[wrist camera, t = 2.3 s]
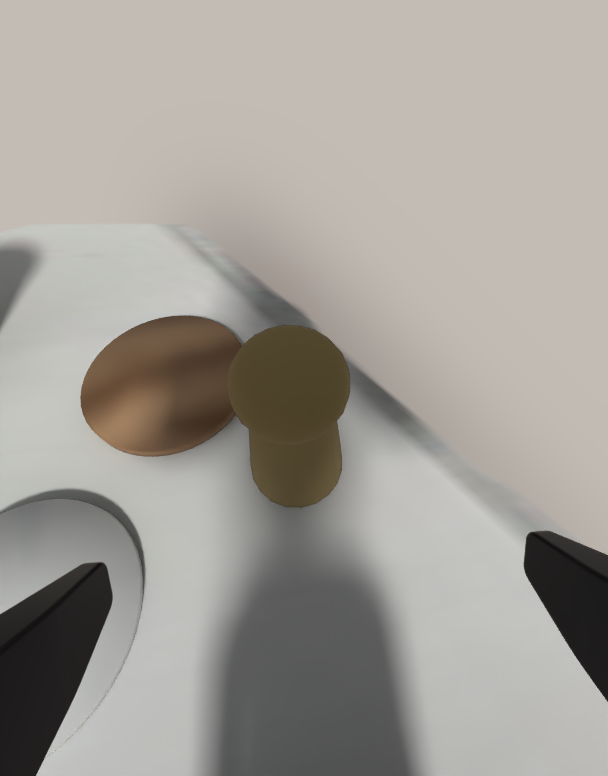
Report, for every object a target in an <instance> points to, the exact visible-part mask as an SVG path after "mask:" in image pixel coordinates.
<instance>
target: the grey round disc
mask: <svg viewBox="0 0 608 776" xmlns="http://www.w3.org/2000/svg"><path fill="white" fill-rule="evenodd" d="M91 562H103V563H105V564H106V566H107V569H108V573H109V578H110V583H111V588H112V593H113V601H112V606H111V609H110V612H109V614H108V617H107V619H106V622H105V624H104V627H103V629H102V632H101V634H100V637H99V639H98V642H97V644H96V647H95V649H94V652H93V654H92V657H91V659H90V662H89V664H88V667H87V669H86V672H85V674H84V677H83V679H82V681H81V684H80V686H79V688H78V691H77V693H76V695H75V697H74V699H73V702H72V704H71V706H70V708H69V710H68V712H67V714H66V716H65V718H64V720H63V722H62V724H61V726H60V728H59V730H58V732H57V734H56V736H55V738H54V740H53V742H52V744H51V746H50V748H49V750H48V752H47V754H46V756H45V758H46V757H48V756H49V755H50V754H51V753H53V752H54V751H55V750H56V749H58V748H59V747H60V746H61V745H62V744H64V743H65V742H66V741H67V740H68V739H69V738H70V737H71V736H72V735H73V734H74V733H75V732H76V731H77V730H78V729H79V728H80V727H81V726H82V725H83V724H84V723H85V722H86V721H87V719H88V718H89V717H90V716H91V715H92V713H93V712H94V711H95V710H96V709H97V707H98V706H99V705H100V703H101V702H102V700H103V699H104V697H105V696H106V694H107V693H108V692H109V690H110V689H111V687H112V685H113V683H114V682H115V680H116V678H117V676H118V675H119V673H120V671H121V669H122V667H123V665H124V663H125V660H126V658H127V656H128V654H129V651H130V649H131V646H132V643H133V640H134V637H135V634H136V631H137V627H138V623H139V619H140V615H141V608H142V600H143V573H142V564H141V560H140V557H139V553H138V550H137V547H136V545H135V543H134V540H133V538H132V537H131V535H130V534H129V532H128V530H127V529H126V528H125V527H124V526H123V525H122V523H121V522H120V521H119V520H118V519H116V518H115V517H114V516H112V515H111V514H110V513H108V512H106V511H104V510H102V509H100V508H98V507H96V506H94V505H92V504H89V503H86V502H83V501H78V500H72V499H49V500H41V501H37V502H32V503H28V504H25V505H22V506H19V507H16V508H13V509H11V510H8V511H6V512H4V513H2V514H0V614H1V613H3V612H5V611H6V610H8V609H9V608H11V607H13V606H14V605H16V604H18V603H19V602H21V601H22V600H24V599H26V598H27V597H29V596H31V595H32V594H34V593H35V592H37V591H39V590H40V589H42V588H44V587H45V586H47V585H48V584H50V583H52V582H53V581H55V580H57V579H58V578H60V577H61V576H63V575H65V574H66V573H68V572H70V571H71V570H73V569H74V568H76V567H78V566H79V565H81V564H84V563H91Z"/></svg>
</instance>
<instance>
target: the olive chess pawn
mask: <svg viewBox="0 0 608 776" xmlns="http://www.w3.org/2000/svg"><path fill="white" fill-rule="evenodd" d="M228 392H229V398H230V403H231V405H232V407H233V409H234V411H235V413H236V414H237V416H238V418H239V419H240V421H241V423H242V424H243V425H245V426H246V427H247V428H248V429H249V440H250V461H251V469H252V475H253V479H254V481H255V483H256V485H257V486H258V488H259V490H260V492H262V493H263V494H264V495H265V496H266V497H267V498H269V499H270V500H271V501H273V502H275V503H277V504H280V505H282V506H285V507H300V508H301V507H305V506H308V505H312V504H316V503H317V502H319V501H320V500H322V499H323V498H325V497H326V496H328V495H329V493H330V492H331V491H332V490H333V488H334V487H335V486H336V484H337V483H338V480H339V477H340V474H341V471H342V454H341V446H340V439H339V431H338V424H337V420H338V419H339V418H340V416H341V415H342V414H343V412H344V409H345V406H346V404H347V401H348V398H349V394H350V373H349V369H348V366H347V364H346V361H345V359H344V356H343V354H342V352H341V351H340V350H339V349H338V348H337V347H336V346H335V345H334V344H333V342H332V341H331V340H330V339H328V338H327V337H326V336H324V335H322V334H321V333H319V332H317V331H316V330H313V329H309V328H306V327H302V326H289V325H283V326H278V327H274V328H269V329H266V330H264V331H262V332H260V333H258V334H256V335H254V336H253V337H252V338H251V339H249V340H248V341H247V342H246V343H245V344H244V345H243V346H242V347H241V348H240V350H239V351H238V353H237V355H236V356H235V358H234V359H233V361H232V363H231V366H230V371H229V376H228Z"/></svg>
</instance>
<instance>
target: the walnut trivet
mask: <svg viewBox="0 0 608 776" xmlns="http://www.w3.org/2000/svg"><path fill="white" fill-rule="evenodd" d="M241 347H242V345H241V343H240V342H239V340H238V339H237V338H236V337H235V335H234V334H233V333H232V332H230V331H229V330H228V329H227V328H225V327H224V326H222V325H221V324H218V323H216V322H214V321H212V320H208V319H205V318H201V317H195V316H170V317H164V318H159V319H155V320H152V321H148V322H146V323H143V324H140V325H138V326H136V327H134V328H132V329H130V330H128V331H126V332H125V333H123V334H121V335H120V336H119V337H117V338H116V339H114V340H113V341H112V342H111V343H110V344H108V345H107V346H106V347H105V348H104V349H103V350H102V351H101V352H100V353H99V355H98V356H97V357H96V358H95V360H94V361H93V362H92V364H91V366H90V368H89V369H88V371H87V373H86V376H85V378H84V381H83V385H82V389H81V408H82V412H83V415H84V417H85V420H86V422H87V423H88V425H89V426H90V428H91V429H92V430H93V431H94V432H95V433H96V434H97V435H98V436H99V437H100V438H102V439H103V440H104V441H105V442H107V443H108V444H109V445H111V446H113V447H114V448H116V449H118V450H120V451H123V452H125V453H129V454H133V455H138V456H164V455H171V454H175V453H179V452H182V451H185V450H188V449H191V448H193V447H195V446H197V445H199V444H201V443H203V442H205V441H206V440H208V439H210V438H211V437H213V436H214V435H215V434H217V433H218V432H219V431H220V430H222V429H223V428H224V427H225V426H226V425H227V424H228V423H229V422H230V421H231V419H232V418H233V417H234V416H235V414H236V413H235V411H234V409H233V407H232V405H231V403H230V398H229V392H228V376H229V371H230V366H231V363H232V361H233V359H234V358H235V356H236V355H237V353H238V351H239V350H240V348H241Z"/></svg>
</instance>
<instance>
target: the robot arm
mask: <svg viewBox="0 0 608 776" xmlns="http://www.w3.org/2000/svg"><path fill="white" fill-rule="evenodd" d="M524 570H525V573H526V576H527V578H528V580H529V581H530V583H531V585H532V586H533V588H534V590H535V591H536V593H537V595H538V596H539V598H540V599H541V601H542V603H543V604H544V606H545V608H546V609H547V611H548V613H549V614H550V616H551V618H552V619H553V621H554V623H555V624H556V626H557V628H558V629H559V631H560V632H561V634H562V636H563V637H564V639H565V641H566V642H567V644H568V645H569V647H570V649H571V650H572V652H573V653H574V655H575V656H576V658H577V659H578V661H579V662H580V664H581V665H582V667H583V668H584V669H585V671H586V672H587V674H588V675H589V676H590V678H591V679H592V681H593V682H594V683H595V685H596V686H597V688H598V689H599V690H600V692H601V693H602V695H603V696H604V697H605V699H606V700H607V702H608V555H606V554H604V553H601V552H599V551H597V550H594V549H592V548H589V547H587V546H585V545H582V544H580V543H577V542H575V541H573V540H570V539H568V538H565V537H563V536H561V535H558V534H556V533H553V532H551V531H536V532H530V533H529V534H528V535H527V537H526V546H525V556H524ZM112 601H113V593H112V588H111V583H110V578H109V573H108V569H107V566H106V564H105V563H103V562H91V563H84V564H81V565H79V566H78V567H76V568H74V569H73V570H71V571H70V572H68V573H66V574H65V575H63V576H61V577H60V578H58V579H57V580H55V581H53V582H52V583H50V584H48V585H47V586H45V587H44V588H42V589H40V590H39V591H37V592H35V593H34V594H32V595H31V596H29V597H27V598H26V599H24V600H22V601H21V602H19V603H18V604H16V605H14V606H13V607H11V608H9V609H8V610H6V611H5V612H3V613H1V614H0V776H36V774H37V772H38V770H39V768H40V766H41V764H42V762H43V760H44V758H45V756H46V754H47V752H48V750H49V748H50V746H51V744H52V742H53V740H54V738H55V736H56V734H57V732H58V730H59V728H60V726H61V724H62V722H63V720H64V718H65V716H66V714H67V712H68V710H69V708H70V706H71V704H72V702H73V699H74V697H75V695H76V693H77V691H78V688H79V686H80V684H81V681H82V679H83V677H84V674H85V672H86V669H87V667H88V664H89V662H90V659H91V657H92V654H93V652H94V649H95V647H96V644H97V642H98V639H99V637H100V634H101V632H102V629H103V627H104V624H105V622H106V619H107V617H108V614H109V612H110V609H111V606H112Z"/></svg>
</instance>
